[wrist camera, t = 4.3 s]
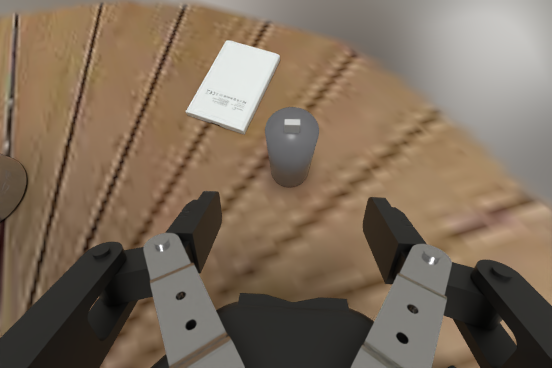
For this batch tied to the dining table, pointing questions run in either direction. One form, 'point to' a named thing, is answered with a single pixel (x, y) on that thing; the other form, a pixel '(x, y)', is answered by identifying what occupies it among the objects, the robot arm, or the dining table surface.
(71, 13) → the dining table surface
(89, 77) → the dining table surface
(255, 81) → the external hard drive
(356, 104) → the dining table surface
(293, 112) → the grey upright cylinder
